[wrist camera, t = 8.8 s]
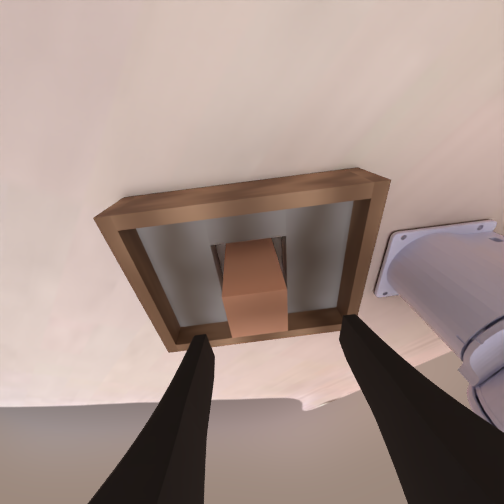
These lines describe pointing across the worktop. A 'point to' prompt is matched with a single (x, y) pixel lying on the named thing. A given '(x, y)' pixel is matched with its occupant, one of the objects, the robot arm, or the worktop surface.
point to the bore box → (245, 229)
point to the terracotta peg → (254, 289)
